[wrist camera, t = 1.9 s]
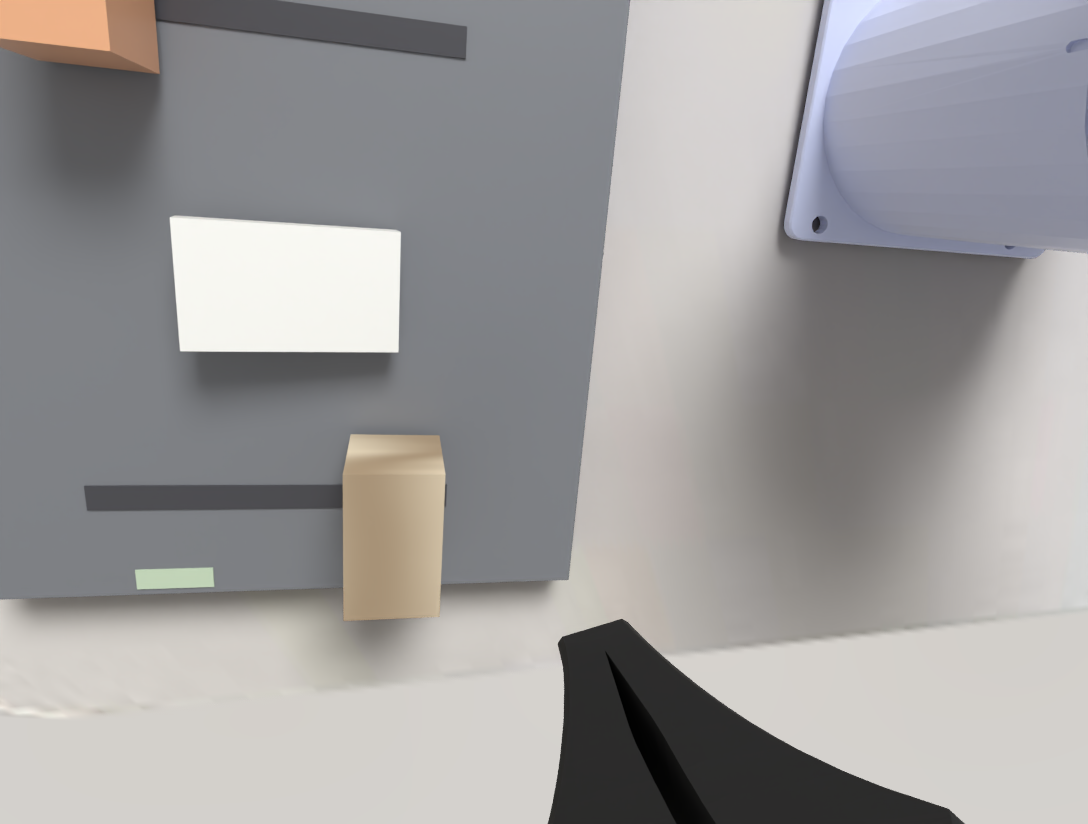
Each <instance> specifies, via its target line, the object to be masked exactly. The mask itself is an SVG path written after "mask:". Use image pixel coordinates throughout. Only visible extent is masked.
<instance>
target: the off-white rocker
mask: <svg viewBox="0 0 1088 824" xmlns="http://www.w3.org/2000/svg"><path fill="white" fill-rule="evenodd" d="M170 229H171V242H172V255H173V267H174V280H175V293H176V306H177V319H178V332H179V344H180V351H204V352H398V351H399V300H400V249H401V232H400V231H398V230H392V229H376V228H361V227H345V226H330V225H315V224H299V223H284V222H269V221H253V220H238V219H223V218H207V217H192V216H176V215H175V216H172V217H170Z"/></svg>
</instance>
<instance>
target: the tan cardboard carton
mask: <svg viewBox="0 0 1088 824" xmlns="http://www.w3.org/2000/svg"><path fill="white" fill-rule="evenodd" d="M445 476H446V474H445V468H444V462H443V455H442V449H441V443H440V436H439V435H365V434H351V435H350V440H349V445H348V450H347V455H346V461H345V466H344V471H343V621H355V620H377V619H400V618H422V617H439V615H440V591H441V568H442V545H443V522H444V499H445Z"/></svg>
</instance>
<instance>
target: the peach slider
mask: <svg viewBox="0 0 1088 824" xmlns="http://www.w3.org/2000/svg"><path fill="white" fill-rule="evenodd" d="M0 48H3V49H6V50H9V51H12V52H15V53H18V54H21V55H24V56H27V57H29V58H32V59H35V60H39V61H48V62H56V63H65V64H74V65H83V66H92V67H101V68H110V69H119V70H127V71H136V72H145V73H154V74H160V71H159V58H158V45H157V32H156V19H155V6H154V0H0Z"/></svg>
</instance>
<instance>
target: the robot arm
mask: <svg viewBox="0 0 1088 824" xmlns="http://www.w3.org/2000/svg"><path fill="white" fill-rule="evenodd" d="M817 216H818V218H819V219H820V226H819V229H818V230H817V231H816V232H814V231H813V229H812V223H813V220H814V219H815V218H816V217H817ZM784 229H785V232H786V234H787V235H788V236H789V237H790V238H792V239H796V240H804V241H816V242H829V243H841V244H854V245H866V246H879V247H891V248H904V249H916V250H929V251H941V252H954V253H966V254H979V255H991V256H1004V257H1016V258H1029V259H1032V258H1036V257H1038V256H1040V255H1041V254H1042V253H1043V252H1044V251H1045V249H1047V250H1057V251H1067V252H1077V253H1087V254H1088V0H824V5H823V10H822V16H821V21H820V27H819V33H818V38H817V44H816V49H815V55H814V60H813V66H812V71H811V77H810V82H809V88H808V93H807V99H806V104H805V110H804V115H803V121H802V126H801V132H800V137H799V143H798V148H797V154H796V159H795V165H794V170H793V176H792V181H791V187H790V192H789V198H788V203H787V209H786V214H785V220H784ZM1004 245H1005V246H1004ZM558 647H559V651H560V655H561V660H562V664H563V672H564V723H563V734H562V744H561V754H560V762H559V770H558V776H557V782H556V788H555V793H554V799H553V804H552V809H551V813H550V817H549V821H548V824H964V823H963V822H962V821H961V820H960V819H959V818H958V817H956V815H955V814H954V813H952V812H951V811H950V810H949V809H947V808H944V807H941V806H938V805H935V804H932V803H929V802H926V801H923V800H920V799H917V798H914V797H911V796H908V795H905V794H902V793H899V792H896V791H893V790H890V789H887V788H884V787H882V786H879V785H876V784H874V783H871V782H869V781H866V780H864V779H861V778H859V777H856V776H854V775H851V774H849V773H847V772H844V771H842V770H840V769H837V768H836V767H833V766H831V765H829V764H827V763H825V762H823V761H821V760H819V759H817V758H814V757H812V756H810V755H808V754H806V753H804V752H802V751H800V750H798V749H796V748H794V747H792V746H791V745H789V744H787V743H785V742H783V741H782V740H780V739H778V738H776V737H774V736H773V735H771V734H769V733H768V732H766V731H764V730H763V729H761V728H759V727H758V726H756V725H754V724H752V723H751V722H749V721H748V720H746V719H745V718H743V717H742V716H740V715H739V714H737V713H736V712H734V711H733V710H731V709H730V708H728V707H727V706H725V705H724V704H722V703H721V702H720V701H718V700H717V699H716V698H714V697H713V696H711V695H710V694H709V693H707V692H706V691H705V690H703V689H702V688H701V687H699V686H698V685H697V684H696V683H694V682H693V681H692V680H691V679H689V678H688V677H687V676H685V675H684V674H683V673H682V672H681V671H679V670H678V669H677V668H676V667H675V666H673V665H672V664H671V663H670V662H669V661H668V660H666V659H665V658H664V657H663V656H662V655H661V654H660V653H659V652H658V651H656V650H655V649H654V648H653V647H652V646H651V645H650V644H649V643H648V642H647V641H646V640H645V639H644V638H643V637H642V636H641V635H640V634H639V633H638V632H637V631H636V630H635V629H634V628H633V627H632V626H631V625H630V624H629V623H628V622H626V621H625V620H623V619H620V620H617V621H613V622H610V623H607V624H603V625H600V626H597V627H594V628H590V629H587V630H584V631H580V632H577V633H574V634H570V635H567V636H564V637H562V638H561V639H560V641H559V642H558Z"/></svg>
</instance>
